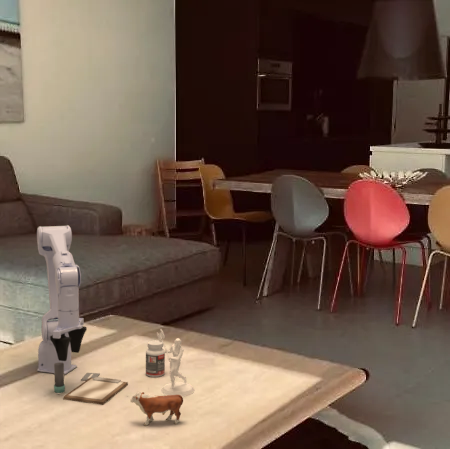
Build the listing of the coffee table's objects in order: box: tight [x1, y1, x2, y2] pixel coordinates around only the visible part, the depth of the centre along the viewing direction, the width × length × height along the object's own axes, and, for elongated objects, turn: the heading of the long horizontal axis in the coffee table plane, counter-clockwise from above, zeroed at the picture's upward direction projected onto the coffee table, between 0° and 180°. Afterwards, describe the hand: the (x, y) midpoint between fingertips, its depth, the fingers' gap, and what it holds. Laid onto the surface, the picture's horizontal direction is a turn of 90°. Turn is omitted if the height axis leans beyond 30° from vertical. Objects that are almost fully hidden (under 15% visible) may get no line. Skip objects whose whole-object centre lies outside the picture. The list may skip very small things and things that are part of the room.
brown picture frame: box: [62, 376, 129, 406], centre depth 212 cm, size 12×16×1 cm
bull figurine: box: [130, 391, 184, 427], centre depth 192 cm, size 4×13×8 cm, turn 95°
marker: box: [53, 363, 66, 394], centre depth 212 cm, size 3×3×8 cm
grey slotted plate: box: [80, 372, 101, 382], centre depth 224 cm, size 4×6×1 cm, turn 173°
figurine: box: [156, 328, 195, 397], centre depth 213 cm, size 10×10×18 cm
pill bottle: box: [145, 339, 166, 378], centre depth 227 cm, size 6×6×10 cm
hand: (69, 356), depth 212 cm, fingers open, 7 cm apart
